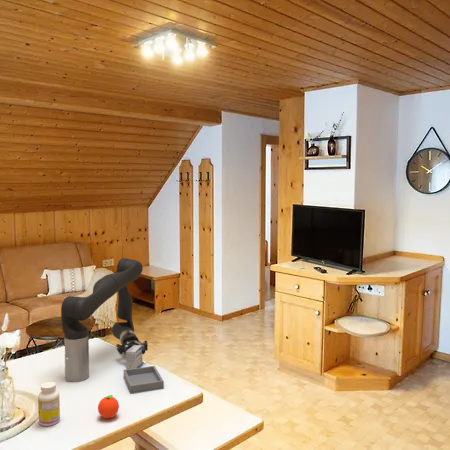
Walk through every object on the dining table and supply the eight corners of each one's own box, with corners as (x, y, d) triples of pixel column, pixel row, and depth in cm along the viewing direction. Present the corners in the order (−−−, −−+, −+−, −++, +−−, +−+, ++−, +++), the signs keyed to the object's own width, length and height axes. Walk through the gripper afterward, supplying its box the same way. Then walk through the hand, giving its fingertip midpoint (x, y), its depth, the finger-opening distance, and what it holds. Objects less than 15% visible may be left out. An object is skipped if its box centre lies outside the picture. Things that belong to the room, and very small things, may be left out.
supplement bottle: (42, 417, 159) (41, 380, 158) (62, 416, 160) (61, 380, 159) (36, 427, 153) (34, 389, 151) (57, 426, 153) (56, 388, 152)
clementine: (102, 410, 164) (102, 390, 164) (122, 410, 164) (121, 391, 163) (95, 421, 157) (94, 401, 156) (115, 422, 156) (115, 402, 156)
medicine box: (135, 372, 196) (135, 352, 196) (125, 371, 197) (125, 351, 196) (142, 364, 204) (142, 345, 203) (133, 363, 205) (132, 344, 204)
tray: (130, 393, 177) (130, 386, 177) (123, 377, 191) (123, 369, 191) (163, 388, 181) (163, 381, 181) (154, 372, 196) (154, 365, 196)
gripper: (113, 334, 214) (118, 346, 198) (144, 330, 219) (152, 342, 204) (113, 350, 215) (119, 363, 199) (144, 346, 220) (152, 359, 204)
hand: (136, 353), depth 201 cm, fingers closed on medicine box, 6 cm apart
